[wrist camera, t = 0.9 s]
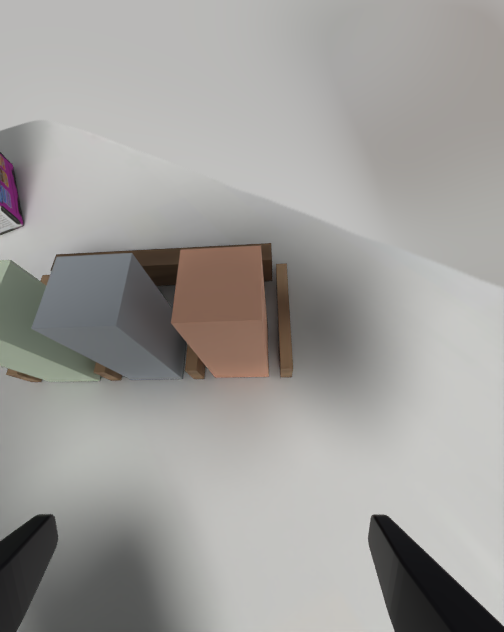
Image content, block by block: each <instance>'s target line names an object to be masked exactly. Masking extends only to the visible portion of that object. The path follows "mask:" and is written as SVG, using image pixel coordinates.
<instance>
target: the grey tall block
mask: <svg viewBox="0 0 504 632" xmlns="http://www.w3.org/2000/svg"><path fill="white" fill-rule="evenodd" d="M172 311H173V309H172V308H171V306H170V305H169V303H168V302H167V301H166V299H165V298H164V296H163V295H162V294H161V292H160V291H159V290H158V288H157V287H156V285H155V284H154V283H153V281H152V280H151V278H150V277H149V276H148V274H147V273H146V272H145V270H144V269H143V267H142V266H141V265H140V263H139V262H138V260H137V259H136V258H135V256H134V255H133V254H132V253H121V254H102V255H83V256H64V257H56V260H55V263H54V266H53V269H52V271H51V274H50V277H49V280H48V283H47V285H46V288H45V291H44V294H43V297H42V300H41V302H40V305H39V308H38V311H37V314H36V316H35V319H34V322H33V325H32V328H31V329H33V330H35V331H37V332H39V333H41V334H42V335H44V336H46V337H48V338H50V339H52V340H54V341H56V342H58V343H60V344H62V345H64V346H66V347H68V348H70V349H72V350H74V351H76V352H78V353H80V354H82V355H84V356H86V357H87V358H89V359H91V360H93V361H95V362H97V363H99V364H101V365H103V366H105V367H107V368H109V369H111V370H113V371H115V372H117V373H119V374H121V375H123V376H125V377H127V378H129V379H131V380H151V379H183V370H184V360H185V351H186V341H185V340H184V339H183V337H182V336H181V335H180V334H179V332H178V331H177V330H176V329H175V328H174V326H173V325H172V324H171V318H172Z"/></svg>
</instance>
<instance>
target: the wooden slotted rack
mask: <svg viewBox="0 0 504 632" xmlns="http://www.w3.org/2000/svg"><path fill="white" fill-rule="evenodd" d="M260 245H261V253H262V265H263V277H264V281H272V253H271V243H266V244H247V245H228V246H209V247H190V248H171V249H152V250H133V251H114V252H96V253H77V254H58V255H56V257H64V256H83V255H102V254H121V253H132V254H133V255H134V256H135V258H136V259H137V260H138V262H139V263H140V265H141V266H142V267H143V269H144V270H145V272H146V273H147V274H148V276H149V277H150V278H151V280H152V281H153V283H154V284H155V285H156V286H162V285H176V280H177V273H178V265H179V258H180V250H184V249H203V248H222V247H241V246H260ZM56 257H55V260H56ZM55 260H54V262H53V265H52V268H51V271H52V269H53V266H54V263H55ZM49 277H50V275H43V276H42V278H41V281H40V282H42V283H43V284H45V285H47V283H48V280H49ZM276 281H277V305H278V328H279V352H280V375H281V377H292V371H293V360H292V344H291V328H290V312H289V295H288V279H287V264H276ZM185 371H186V372H187V373H188V374H189V375H190V376H191V377H192V378H193V379H204V378H205V364H204V363H203V362H202V361H201V360H200V358H199V357H198V356H197V355H196V353H195V352H194V351H193V350H192V348H191V347H190V346H189V345H188V344H187V354H186V364H185ZM93 373H95V374H98V375H100V376H102V377H104V378H106V379H109V380H111V381H115V380H121V379H122V375H121V374H119V373H117V372H115V371H113V370H111V369H109V368H107V367H105V366H103V365H101V364H99V363H97V362H96V364H95V368H94V372H93ZM6 375H9V376H13V377H16V378H20V379H23V380H26V381H30V382H41V381H42V379H40V378H37V377H33V376H30V375H27V374H24V373H21V372H18V371H15V370H12V369H8V370H7V373H6Z"/></svg>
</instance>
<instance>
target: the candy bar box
mask: <svg viewBox="0 0 504 632" xmlns="http://www.w3.org/2000/svg"><path fill="white" fill-rule="evenodd" d="M21 226H23V219H22V214H21V209H20V203H19V198H18V193H17V187H16V181H15V175H14V170H13V165H12V164H11V163H10V162H9V161H8V160H7V159H6V158H5V157H4V155H3V154H2V153H1V152H0V235H1V234H4V233H6V232H8V231H11V230H14V229H16V228H19V227H21Z"/></svg>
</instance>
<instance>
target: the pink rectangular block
mask: <svg viewBox="0 0 504 632" xmlns="http://www.w3.org/2000/svg"><path fill="white" fill-rule="evenodd" d="M171 324H172V325H173V326H174V328H175V329H176V330H177V331H178V332H179V334H180V335H181V336H182V337H183V339H184V340H185V341H186V342H187V344H188V345H189V346H190V347H191V348H192V350H193V351H194V352H195V353H196V355H197V356H198V357H199V358H200V360H201V361H202V362H203V363H204V364H205V366H206V367H207V368H208V369H209V371H210V372H211V373H212V374H213V375H214V377H215V378H223V377H269V363H268V326H267V313H266V301H265V289H264V277H263V265H262V253H261V245H260V246H241V247H222V248H203V249H184V250H180V258H179V265H178V273H177V280H176V288H175V296H174V303H173V311H172V318H171Z"/></svg>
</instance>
